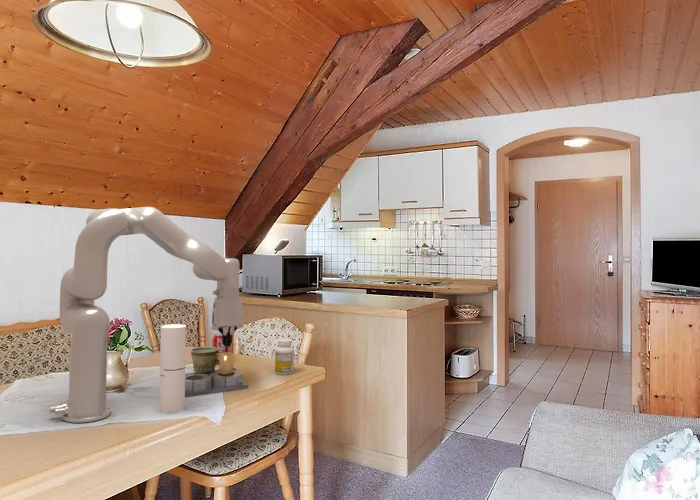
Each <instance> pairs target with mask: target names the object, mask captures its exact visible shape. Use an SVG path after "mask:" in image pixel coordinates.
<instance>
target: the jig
mask: <svg viewBox="0 0 700 500" xmlns="http://www.w3.org/2000/svg"><path fill="white" fill-rule="evenodd" d="M219 370H220V369H215V370H213V371H205V372H197V373H194V372H190V373H185V398H191V397H198V396H203V395H211V394H219V393H224V392H225V393H226V392H231V391H232V392H234V391H237V390H246V389H249V384H247V383H246V382H244V379H243V377H244V375H243V372H242V371H240V370H237V369H236V368H235V367H233V375H231V376H219Z"/></svg>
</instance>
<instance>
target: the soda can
mask: <svg viewBox="0 0 700 500" xmlns="http://www.w3.org/2000/svg"><path fill="white" fill-rule="evenodd" d="M211 347H216V348H218V349H219V352H222V353H226V352H229V353H230V347H231V346H227V347H225V346H224V345H223V344H222V334H221V333H220V332H216V333H213V337H212V339H211ZM219 352H218V353H219ZM219 361H220V354H219V355H218V357H217V362H216V364H217V363H218V362H219ZM217 365H220V362H219V363H218V364H217Z"/></svg>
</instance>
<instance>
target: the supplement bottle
mask: <svg viewBox="0 0 700 500" xmlns="http://www.w3.org/2000/svg"><path fill="white" fill-rule="evenodd" d="M292 341H293V340H292V339H290V338H280V339H278V341H277V345H278V346H277V347H276V348H275V352H274V353H275V356H274V357H275V359H274V362H275V363H274V372H275V374H276V375H279V376H288V375H287V374H290V375H292V374H293V373H294V368H295V367H294V363H295V361H294V359H295V358H294V357H295V356H294V355H295V348H294V347H293V346H292V344H293V342H292ZM291 373H292V374H291Z"/></svg>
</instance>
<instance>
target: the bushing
mask: <svg viewBox="0 0 700 500" xmlns="http://www.w3.org/2000/svg"><path fill="white" fill-rule="evenodd" d="M233 368H234V353H233V352H230V351H229V352H226V353H220V364H219V369H218V370H219V376H231V375H233Z"/></svg>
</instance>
